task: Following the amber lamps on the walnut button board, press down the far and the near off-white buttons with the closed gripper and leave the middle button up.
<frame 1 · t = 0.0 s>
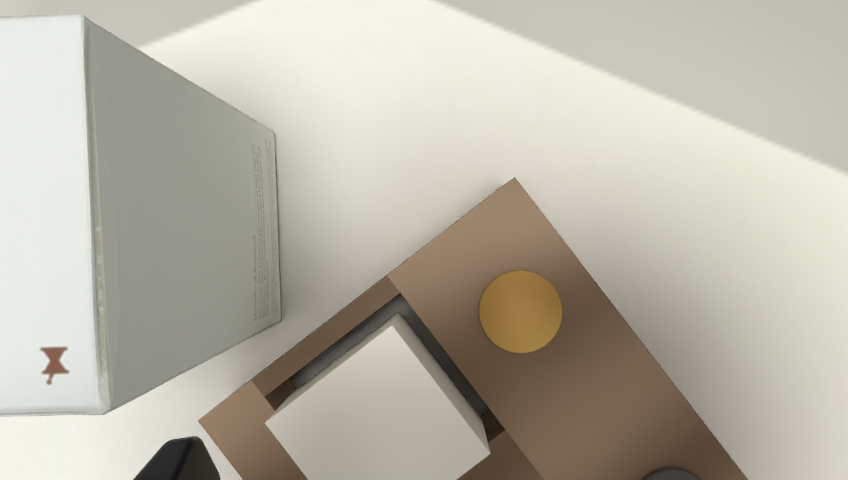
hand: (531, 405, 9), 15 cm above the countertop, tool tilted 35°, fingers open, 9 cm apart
supplement box: (185, 229, 24), on the countertop
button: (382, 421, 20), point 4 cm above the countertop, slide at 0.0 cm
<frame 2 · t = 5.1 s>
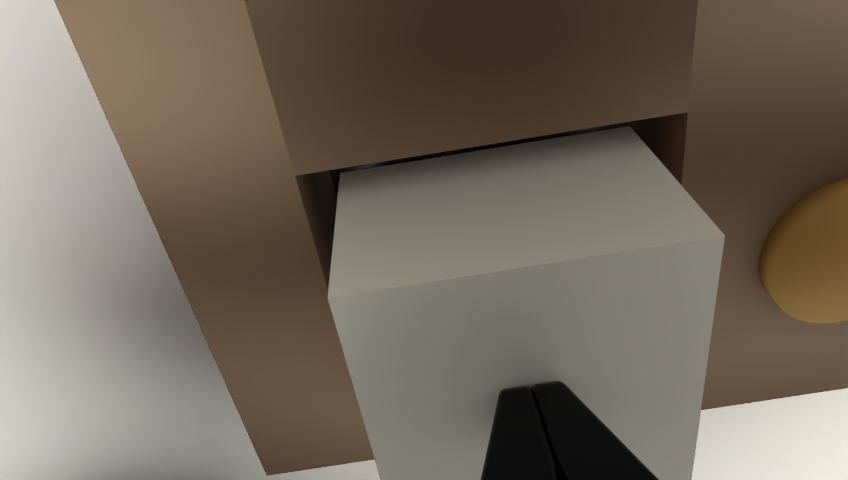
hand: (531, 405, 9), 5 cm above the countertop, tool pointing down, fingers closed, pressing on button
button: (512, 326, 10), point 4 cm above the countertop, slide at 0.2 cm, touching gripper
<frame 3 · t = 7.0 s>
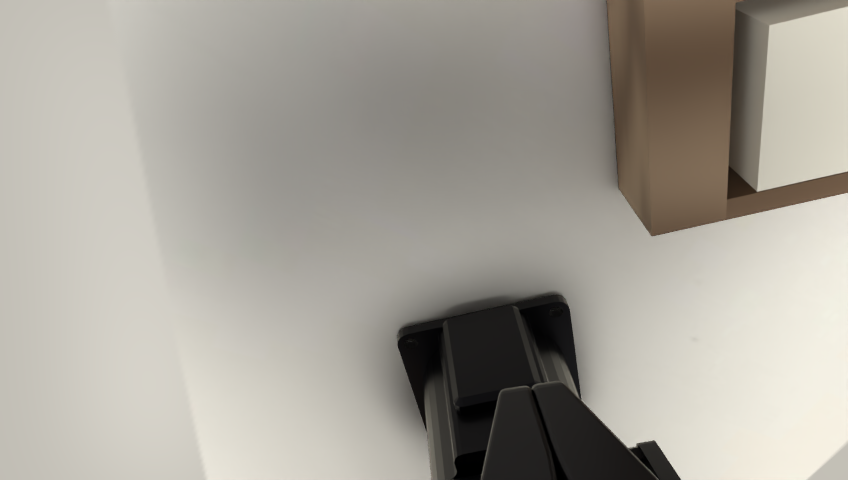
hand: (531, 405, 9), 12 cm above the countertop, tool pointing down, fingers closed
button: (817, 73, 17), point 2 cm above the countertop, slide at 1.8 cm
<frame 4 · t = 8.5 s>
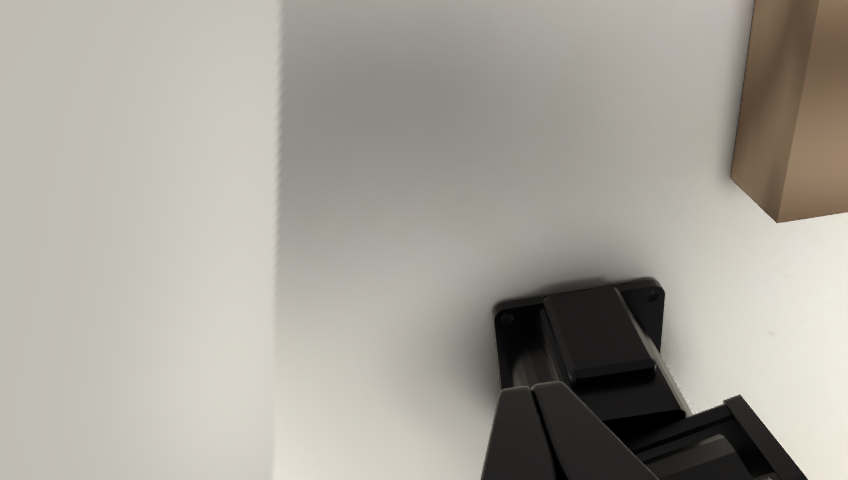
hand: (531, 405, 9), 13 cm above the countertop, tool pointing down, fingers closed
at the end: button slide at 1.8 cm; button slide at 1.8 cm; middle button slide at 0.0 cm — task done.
